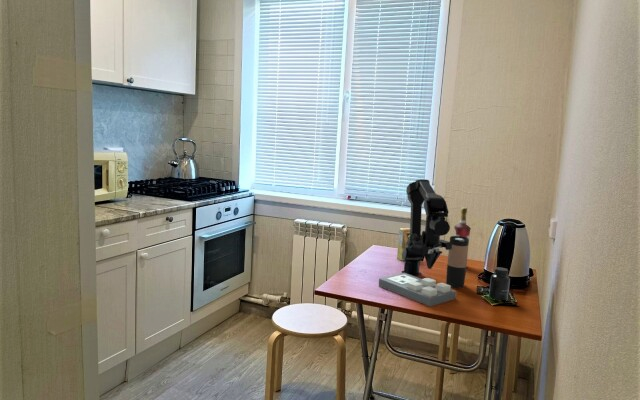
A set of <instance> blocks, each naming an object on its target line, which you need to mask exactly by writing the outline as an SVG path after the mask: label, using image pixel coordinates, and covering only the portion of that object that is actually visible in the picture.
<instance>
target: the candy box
mask: <svg viewBox="0 0 640 400" xmlns="http://www.w3.org/2000/svg"><path fill="white" fill-rule="evenodd" d="M398 229H399V230H398V240H397V252H396V253H397V254H396V258H397V260H399V261H404V260H403V259H402V253H403V250H404V248H405V247H406V242H407V241H408V239H409V238H410V227H401V228H398Z"/></svg>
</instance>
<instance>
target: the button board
mask: <svg viewBox="0 0 640 400" xmlns="http://www.w3.org/2000/svg"><path fill="white" fill-rule="evenodd" d="M421 279H422V278H419V277H417V276H416V275H415V276H412V275H409V274H406V273H402V272H401V273H397V274H393V275H389V276H384V277H380V278H378V287H381V288H383V289H385V290H389V291H390V292H393V293H395V294H398V295H400V296H403V297H405V298H407V299H410V300H413V301H415V302H418V303H420V304H422V303H423V305H425V306H428V307H433V306H437V305H440V304H443V303H446V302H449V301H453V300H456V296H457V291H456V290H454V289H452V288H451V289H450V292H446V293H442V292H439V291H437V295H436V296H433V297H428V296H426V295H423V294H421V293H422V290H419V291H413V290H410V289H408V288H407V283H408V282H412V281H416V282H419V283H421ZM435 286H436V285H435ZM435 286H433V287H432V288H435ZM424 287H426V286H423V285H422V288H424Z"/></svg>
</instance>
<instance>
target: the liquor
mask: <svg viewBox="0 0 640 400" xmlns="http://www.w3.org/2000/svg"><path fill="white" fill-rule="evenodd" d="M467 213H468V207H460V214H461V215H460V219H459V224H456V225H454V229H453V230H454V231H453V232H454V233H453V236H461V237H466V238H468V239H469V240H470V235H471V226H470V225H468V224H467Z"/></svg>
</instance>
